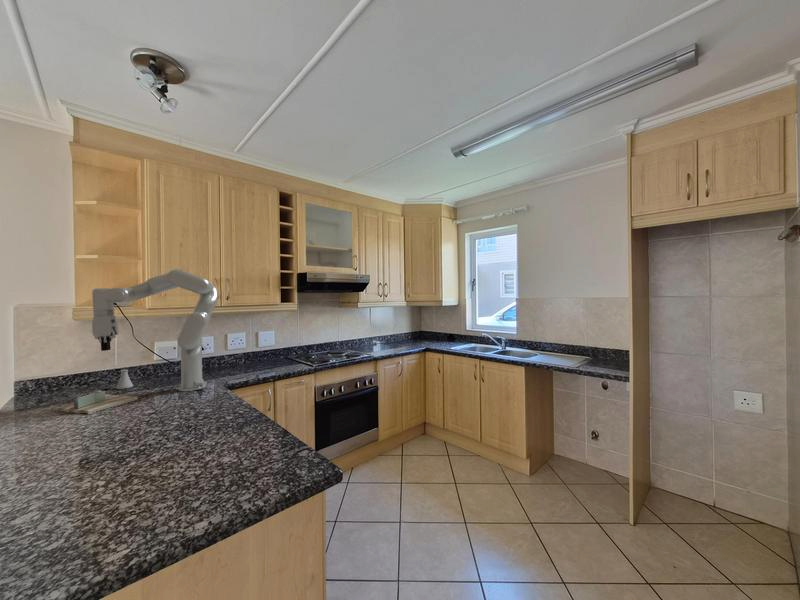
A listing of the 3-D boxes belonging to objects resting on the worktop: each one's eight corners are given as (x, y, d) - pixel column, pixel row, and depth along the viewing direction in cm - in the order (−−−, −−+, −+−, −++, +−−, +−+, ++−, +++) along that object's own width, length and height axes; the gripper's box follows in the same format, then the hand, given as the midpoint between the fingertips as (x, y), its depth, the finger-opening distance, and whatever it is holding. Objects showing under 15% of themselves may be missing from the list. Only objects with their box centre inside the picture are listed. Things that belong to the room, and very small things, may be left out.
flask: (123, 390, 176) (122, 371, 176) (112, 389, 177) (112, 371, 177) (136, 386, 183) (136, 368, 183) (126, 385, 184) (125, 368, 184)
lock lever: (98, 399, 152) (98, 389, 152) (108, 399, 152) (108, 389, 152) (69, 408, 139) (69, 397, 139) (79, 408, 139) (79, 397, 139)
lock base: (137, 399, 157) (137, 396, 157) (88, 414, 137) (88, 410, 137) (106, 397, 162) (106, 394, 162) (55, 411, 142) (55, 407, 142)
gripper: (124, 312, 163) (126, 348, 163) (98, 313, 165) (100, 349, 165) (109, 313, 155) (111, 351, 156) (82, 314, 157) (84, 352, 158)
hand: (105, 350), depth 160 cm, fingers closed
